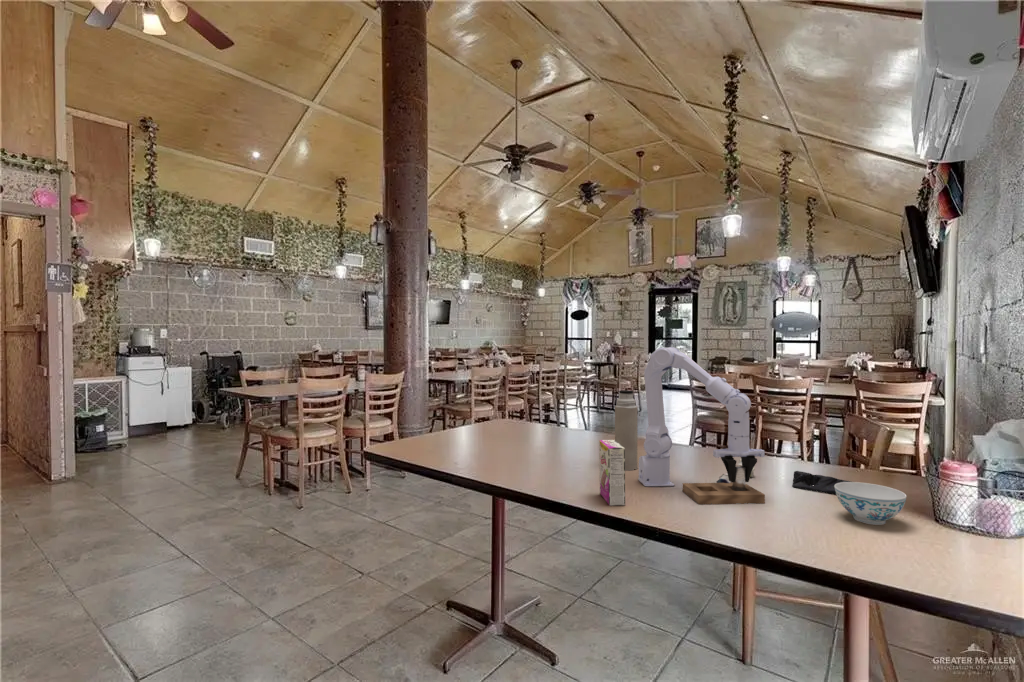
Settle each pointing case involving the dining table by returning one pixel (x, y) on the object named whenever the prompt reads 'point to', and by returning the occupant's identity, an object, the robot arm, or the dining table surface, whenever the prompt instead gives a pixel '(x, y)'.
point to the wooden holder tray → (721, 493)
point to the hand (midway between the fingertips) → (738, 481)
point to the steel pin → (739, 478)
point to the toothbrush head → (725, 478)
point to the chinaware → (870, 501)
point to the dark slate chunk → (815, 482)
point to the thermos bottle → (627, 427)
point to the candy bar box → (612, 472)
